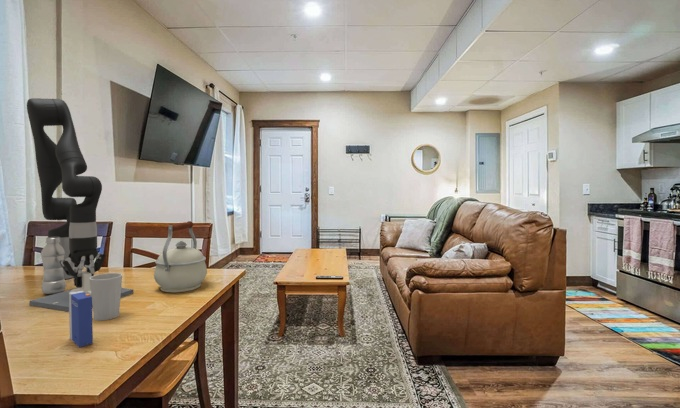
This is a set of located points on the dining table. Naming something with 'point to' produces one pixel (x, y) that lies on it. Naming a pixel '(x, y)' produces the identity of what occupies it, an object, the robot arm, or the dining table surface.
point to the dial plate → (64, 300)
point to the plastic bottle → (53, 267)
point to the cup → (105, 295)
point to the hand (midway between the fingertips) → (84, 285)
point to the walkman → (80, 318)
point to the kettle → (180, 264)
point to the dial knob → (84, 283)
